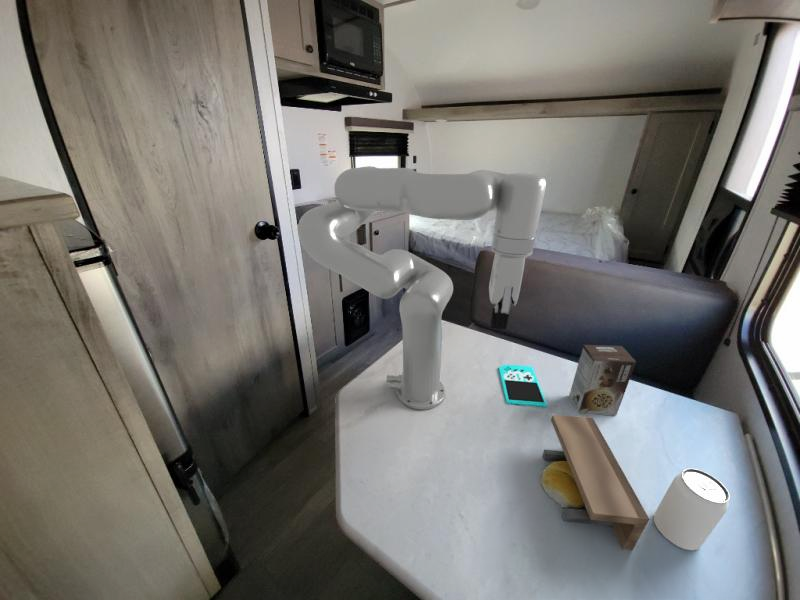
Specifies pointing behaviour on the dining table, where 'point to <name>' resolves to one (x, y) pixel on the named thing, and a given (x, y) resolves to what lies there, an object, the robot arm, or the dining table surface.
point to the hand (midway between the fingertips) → (498, 326)
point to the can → (691, 508)
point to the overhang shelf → (597, 480)
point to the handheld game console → (521, 386)
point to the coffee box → (601, 379)
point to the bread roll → (561, 485)
